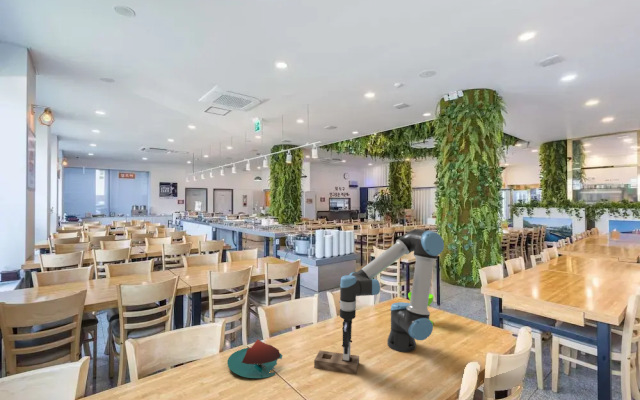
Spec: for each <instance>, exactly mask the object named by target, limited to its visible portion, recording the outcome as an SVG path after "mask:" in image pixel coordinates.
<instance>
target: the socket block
mask: <svg viewBox="0 0 640 400" xmlns="http://www.w3.org/2000/svg"><path fill="white" fill-rule="evenodd" d="M313 365H314V367H313V368H314V369H320V370H321V369H322V370H328V371H334V372H342V373H348V374H355V375H357V372H358V369H359V365H360V355H356V354H355V355H354V354H350V362H345V361H344V360H343V352H342V353H341V352H333V351H326V350H319V351H318V353H317V355H316V356H315V358H314V361H313Z"/></svg>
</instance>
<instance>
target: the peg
mask: <svg viewBox="0 0 640 400" xmlns="http://www.w3.org/2000/svg"><path fill="white" fill-rule="evenodd" d="M350 343H351V342H350V341H349V361H347V360H344V361H345V362H350V355H351V347H350Z"/></svg>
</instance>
